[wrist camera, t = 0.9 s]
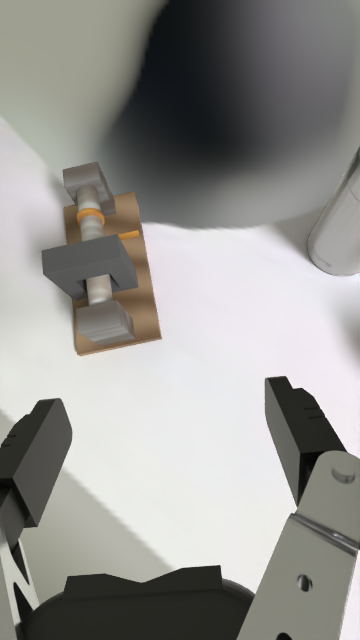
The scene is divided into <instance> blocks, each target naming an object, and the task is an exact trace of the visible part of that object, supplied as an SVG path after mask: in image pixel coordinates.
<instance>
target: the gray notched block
mask: <svg viewBox="0 0 360 640" xmlns="http://www.w3.org/2000/svg"><path fill="white" fill-rule="evenodd" d="M42 263H43V274H44V275H45V276H46V277H47V278H49V279H50V280H51V281H52V282H54V283H55V284H56V285H57V286H59V287H60V288H61V289H62V290H63V291H65V292H66V293H67V294H68V295H70V296H71V297H72V298H73V299H74V300H76V301H78V300H83V299H87V298H88V292H87V283H86V279H88V278H93V277H97V276H102V275H107V274H109V275H110V282H111V289H112V293H115V292H119V291H124V290H129V289H133V288H138V287H139V286H138V280H137V274H136V268H135V266H134V264H133V262H132V260H131V259H130V257H129V255H128V253H127V251H126V249H125V247H124V245H123V243H122V242H121V240H120V238H119V236H118V234H114V235H110V236H105V237H101V238H96V239H92V240H87V241H83V242H78V243H74V244H70V245H65V246H61V247H56V248H52V249H47V250H43V251H42Z"/></svg>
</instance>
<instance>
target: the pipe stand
mask: <svg viewBox="0 0 360 640" xmlns="http://www.w3.org/2000/svg"><path fill="white" fill-rule="evenodd" d="M63 177H64V187H65V189H66V190H67V192H68V193H69V195H70V196H71V198H72V199H73V201H74V202H75V204H76V205H72V206H68V207H64V215H65V226H66V237H67V245H70V244H74V243H78V242H83V241H87V240H92V239H96V238H101V237H105V236H110V235H114V234H118V236H119V238H120V240H121V242H122V243H123V245H124V247H125V249H126V251H127V253H128V255H129V257H130V259H131V260H132V262H133V264H134V266H135V268H136V274H137V280H138V286H139V287H138V288H133V289H129V290H124V291H119V292H115V293H112V289H111V282H110V275H109V274H107V275H102V276H97V277H93V278H88V279H86V283H87V292H88V298H87V299H83V300H78V301H76V300H74V299H73V298H72V302H73V312H74V323H75V334H76V345H77V355H79V356H84V355H88V354H93V353H98V352H103V351H107V350H112V349H117V348H122V347H126V346H131V345H136V344H141V343H145V342H150V341H155V340H159V339H162V337H161V332H160V326H159V320H158V315H157V309H156V304H155V298H154V292H153V287H152V281H151V276H150V270H149V264H148V259H147V253H146V248H145V242H144V236H143V231H142V225H141V220H140V215H139V208H138V203H137V197H136V194H135V192H129V193H125V194H120V195H115V196H113V195H112V193H111V190H110V188H109V186H108V184H107V182H106V180H105V177H104V175H103V173H102V171H101V169H100V166H99V164H98V162H94V163H89V164H85V165H81V166H77V167H72V168H68V169H64V170H63Z"/></svg>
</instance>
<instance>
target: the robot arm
mask: <svg viewBox="0 0 360 640" xmlns="http://www.w3.org/2000/svg"><path fill="white" fill-rule="evenodd" d="M307 249H308V253H309V256H310V258H311V260H312V261H313V262H314V264H315V265H316V266H317V267H319V268H320V269H321V270H323V271H325V272H327V273H329V274H332V275H337V276H349V275H354V274H356V273H359V272H360V146H359V148H358V150H357V151H356V153H355V155H354V157H353V158H352V160H351V162H350V164H349V166H348V168H347V170H346V171H345V173H344V175H343V177H342V178H341V180H340V182H339V184H338V186H337V187H336V189H335V191H334V193H333V195H332V196H331V198H330V200H329V202H328V203H327V205H326V207H325V209H324V211H323V212H322V214H321V216H320V218H319V219H318V221H317V223H316V225H315V227H314V228H313V230H312V232H311V234H310V236H309V238H308V243H307ZM265 415H266V421H267V425H268V428H269V430H270V433H271V436H272V439H273V442H274V444H275V447H276V450H277V453H278V456H279V458H280V461H281V464H282V467H283V470H284V472H285V475H286V478H287V481H288V484H289V486H290V489H291V492H292V495H293V498H294V500H295V503H296V506H297V507H298V508H297V510H296V512H295V514H293V513H291V514H290V516H289V517H288V519H287V521H286V523H285V526H284V528H283V531H282V533H281V535H280V538H279V540H278V542H277V545H276V547H275V549H274V552H273V554H272V557H271V559H270V561H269V564H268V566H267V568H266V571H265V573H264V576H263V578H262V580H261V583H260V585H259V587H258V590H257V592H256V594H254V593H253V592H252V591H250V590H249V589H247V588H245V587H244V586H242V585H240V584H238V583H235V582H233V581H231V580H227V579H223V578H222V575H221V566H220V565H216V566H202V567H189V568H181V569H178V570H176V571H173V572H170V573H168V574H165V575H163V576H160V577H158V578H155V579H152V580H150V581H147V582H143V583H139V582H135V581H131V580H127V579H123V578H120V577H116V576H112V575H107V574H92V575H79V576H68V578H67V581H66V585H65V588H64V591H63V592H61V593H59V594H57V595H55V596H53V597H51V598H50V599H48V600H47V601H45V602H44V603H42V604H41V605H40V603H39V601H38V599H37V596H36V593H35V590H34V586H33V583H32V579H31V576H30V572H29V568H28V565H27V561H26V557H25V553H24V549H23V546H22V542H21V540H20V538H19V537H20V535H21V532H22V530H23V528H31V527H38V524H39V522H40V519H41V516H42V514H43V512H44V509H45V506H46V504H47V502H48V499H49V497H50V494H51V492H52V489H53V487H54V484H55V482H56V479H57V477H58V475H59V472H60V470H61V467H62V465H63V462H64V460H65V457H66V455H67V452H68V450H69V447H70V445H71V442H72V427H71V424H70V422H69V419H68V416H67V413H66V410H65V407H64V404H63V402H62V400H61V399H60V398H55V399H45V400H39V401H38V402H37V404H36V405H35V407H34V408H33V410H32V411H31V413H30V414H27V415H25V416H24V417H23V418H22V419H20V420H19V421H18V422H17V423H16V424H15V425H14V426H13V428H12V429H11V431H10V432H9V434H8V435H7V438H6V439H5V440H4V441H3V443H2V444H1V448H0V640H339V638H340V633H341V629H342V624H343V619H344V614H345V610H346V605H347V600H348V596H349V591H350V587H351V582H352V577H353V573H354V568H355V563H356V559H357V554H358V550H360V459H359V458H357V457H356V456H354V455H352V454H349V453H348V452H347V451H346V449H345V447H344V446H343V444H342V442H341V441H340V439H339V438H338V436H337V434H336V433H335V431H334V429H333V428H332V426H331V424H330V423H329V421H328V420H327V418H325V415H324V413H323V411H322V410H321V409H320V407H319V405H318V403H317V402H316V400H315V398H314V397H313V396H312V395H311V394H309V393H308V392H307V391H305V390H304V389H303V388H297V389H293V388H292V386H291V384H290V382H289V381H288V379H287V377H286V376H279V377H270V378H265Z"/></svg>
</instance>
